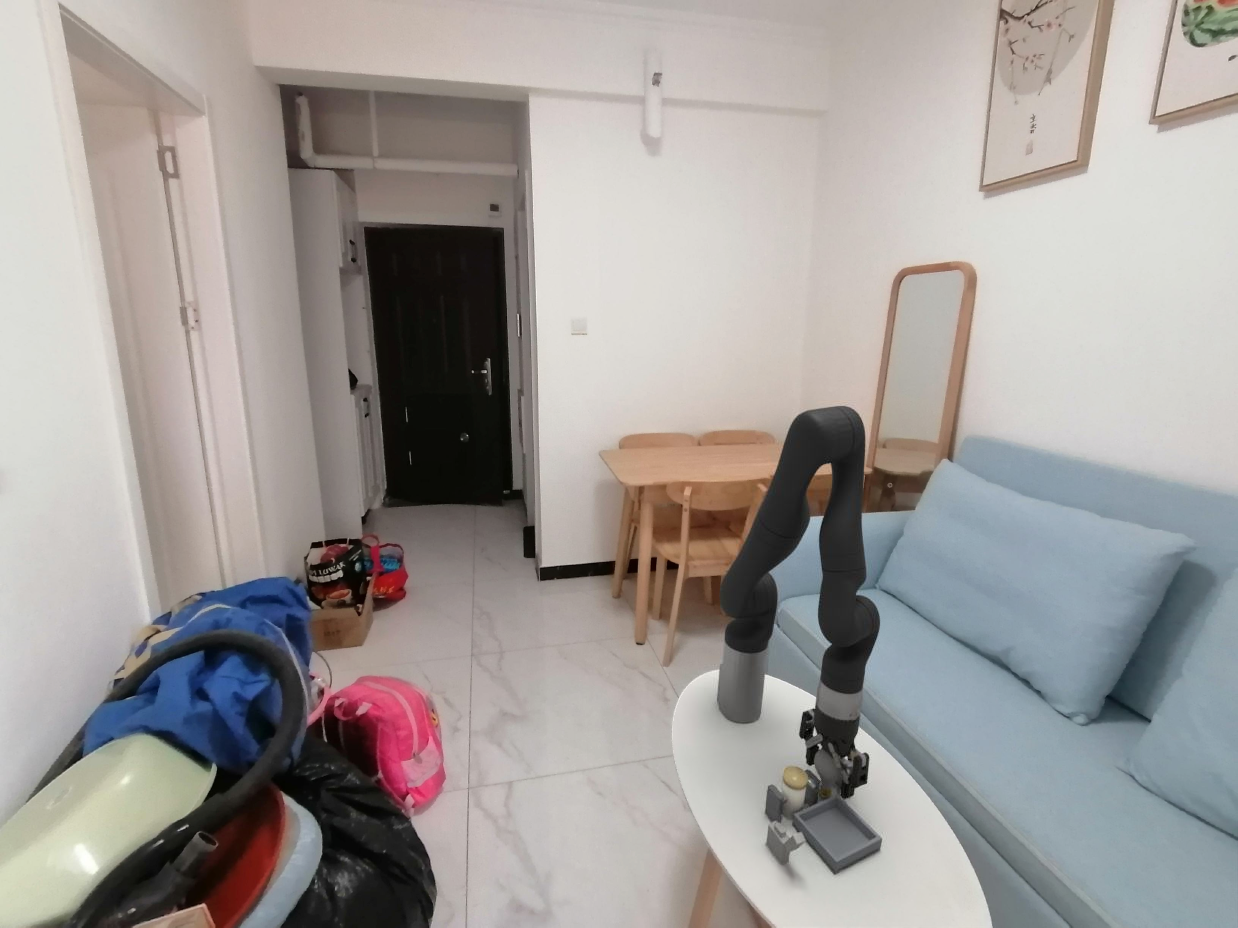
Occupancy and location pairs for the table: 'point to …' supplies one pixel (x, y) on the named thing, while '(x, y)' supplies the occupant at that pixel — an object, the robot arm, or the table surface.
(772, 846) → the lighter
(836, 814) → the tray
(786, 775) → the cream domed cylinder
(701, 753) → the table surface
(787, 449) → the robot arm
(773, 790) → the clip block
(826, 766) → the light bulb
